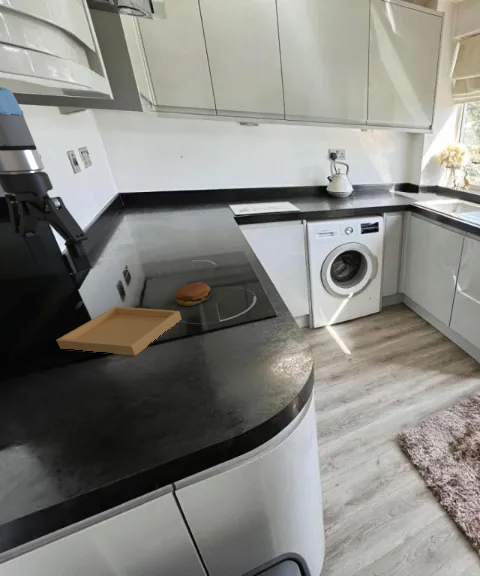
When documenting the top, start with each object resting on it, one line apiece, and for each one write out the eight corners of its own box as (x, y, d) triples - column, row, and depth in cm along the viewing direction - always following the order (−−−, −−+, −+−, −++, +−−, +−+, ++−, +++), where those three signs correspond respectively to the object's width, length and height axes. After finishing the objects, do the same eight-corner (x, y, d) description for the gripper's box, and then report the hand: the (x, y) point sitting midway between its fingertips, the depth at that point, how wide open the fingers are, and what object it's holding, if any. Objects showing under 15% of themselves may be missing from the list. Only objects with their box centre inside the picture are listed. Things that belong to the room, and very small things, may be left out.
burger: (172, 307, 97) (168, 294, 95) (184, 294, 105) (180, 281, 103) (207, 305, 99) (204, 291, 97) (216, 292, 107) (213, 279, 105)
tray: (60, 349, 78) (55, 340, 77) (118, 314, 93) (115, 306, 92) (135, 355, 77) (131, 346, 75) (181, 319, 91) (179, 310, 90)
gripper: (84, 173, 68) (118, 267, 77) (5, 167, 74) (45, 254, 83) (41, 177, 61) (84, 279, 70) (-42, 170, 67) (8, 265, 77)
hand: (63, 266), depth 77 cm, fingers open, 13 cm apart
